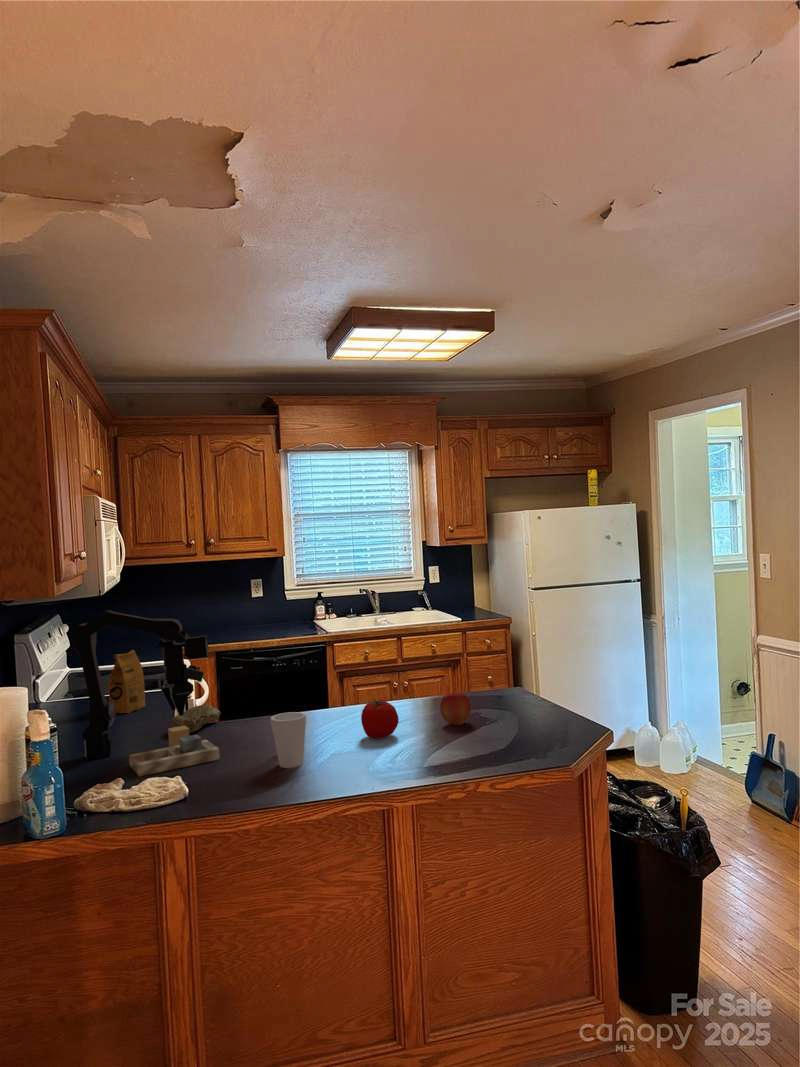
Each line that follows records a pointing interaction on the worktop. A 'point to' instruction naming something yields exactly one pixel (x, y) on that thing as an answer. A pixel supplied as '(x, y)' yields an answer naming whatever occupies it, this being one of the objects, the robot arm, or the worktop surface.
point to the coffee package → (127, 684)
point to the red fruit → (379, 719)
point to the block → (177, 734)
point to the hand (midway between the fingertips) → (177, 712)
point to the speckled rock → (196, 717)
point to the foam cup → (289, 738)
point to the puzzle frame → (174, 756)
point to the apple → (455, 708)
